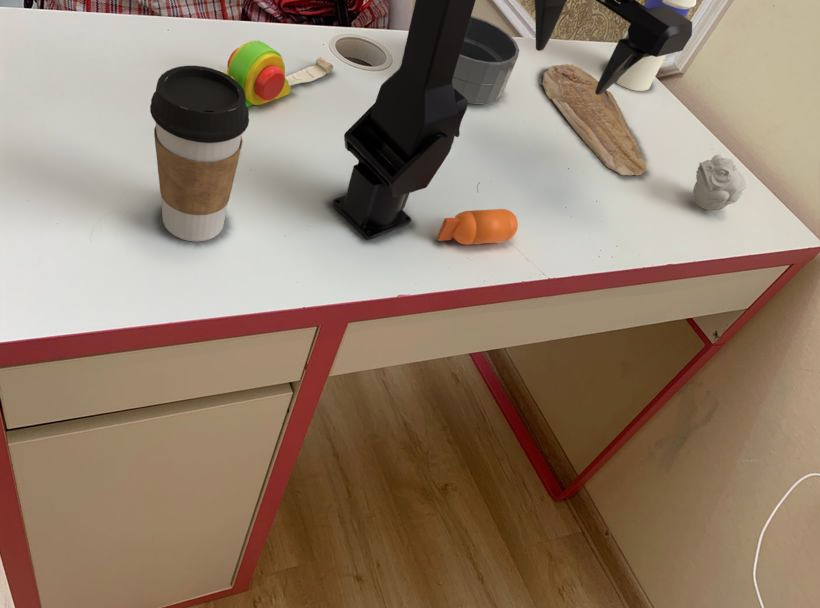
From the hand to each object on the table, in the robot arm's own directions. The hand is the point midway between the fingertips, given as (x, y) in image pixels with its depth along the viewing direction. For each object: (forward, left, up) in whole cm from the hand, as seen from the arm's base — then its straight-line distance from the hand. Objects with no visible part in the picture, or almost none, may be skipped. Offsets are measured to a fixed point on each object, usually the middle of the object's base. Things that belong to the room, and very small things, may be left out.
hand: (568, 71), depth 80 cm
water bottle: (+38, +9, -14) cm, 41 cm away
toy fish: (-15, -7, -14) cm, 22 cm away
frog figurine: (+20, -17, -14) cm, 29 cm away
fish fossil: (+21, +3, -14) cm, 25 cm away
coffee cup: (-42, +8, -14) cm, 45 cm away
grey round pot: (+7, +18, -14) cm, 24 cm away
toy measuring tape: (-20, +25, -14) cm, 35 cm away
